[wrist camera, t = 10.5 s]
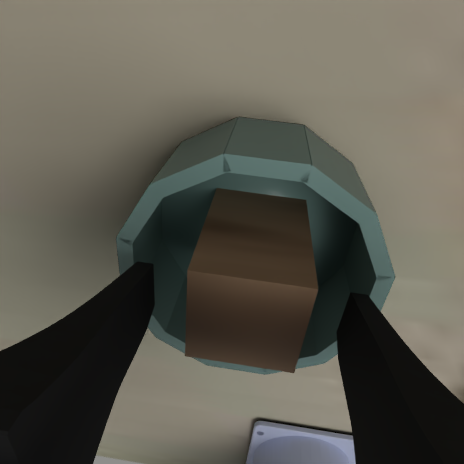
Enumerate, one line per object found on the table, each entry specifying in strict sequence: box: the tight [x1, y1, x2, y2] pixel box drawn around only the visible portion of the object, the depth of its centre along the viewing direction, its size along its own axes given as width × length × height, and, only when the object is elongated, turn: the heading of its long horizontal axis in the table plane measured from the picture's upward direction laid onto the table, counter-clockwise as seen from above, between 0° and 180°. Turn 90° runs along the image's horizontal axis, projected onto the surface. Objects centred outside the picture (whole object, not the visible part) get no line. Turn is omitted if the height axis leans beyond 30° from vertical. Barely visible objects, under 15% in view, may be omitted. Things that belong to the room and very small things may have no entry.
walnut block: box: [185, 188, 318, 373], centre depth 14 cm, size 4×4×6 cm
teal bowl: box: [116, 117, 395, 374], centre depth 16 cm, size 10×10×4 cm
